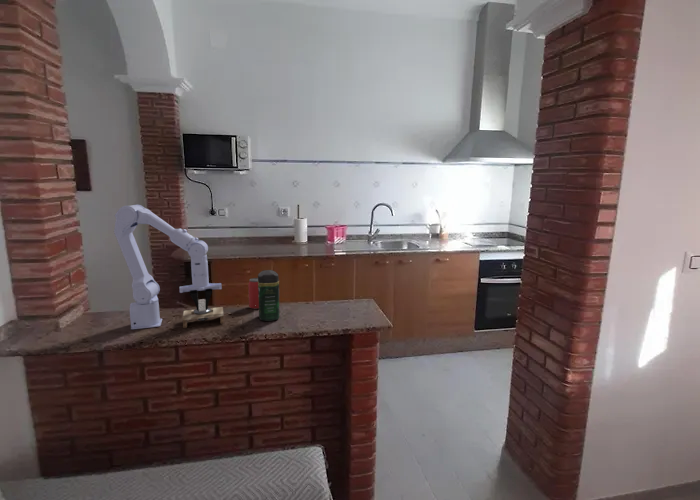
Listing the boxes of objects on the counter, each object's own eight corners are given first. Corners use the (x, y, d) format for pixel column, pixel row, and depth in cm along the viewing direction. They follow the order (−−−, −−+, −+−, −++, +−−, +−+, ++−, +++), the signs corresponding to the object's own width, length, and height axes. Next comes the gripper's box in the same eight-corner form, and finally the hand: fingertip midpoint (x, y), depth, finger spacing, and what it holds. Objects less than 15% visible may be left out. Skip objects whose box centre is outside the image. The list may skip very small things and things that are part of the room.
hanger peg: (194, 322, 143) (192, 303, 142) (194, 317, 148) (193, 299, 147) (211, 320, 145) (210, 302, 144) (211, 315, 150) (210, 297, 149)
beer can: (246, 306, 166) (245, 279, 164) (261, 303, 170) (260, 276, 168) (252, 310, 161) (251, 282, 158) (267, 307, 164) (266, 279, 162)
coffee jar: (280, 321, 149) (279, 273, 145) (259, 322, 147) (257, 274, 143) (278, 312, 158) (277, 268, 155) (258, 314, 156) (256, 269, 153)
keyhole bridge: (183, 328, 141) (182, 317, 140) (184, 320, 148) (183, 310, 148) (223, 323, 146) (223, 313, 145) (223, 316, 153) (222, 306, 152)
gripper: (177, 277, 137) (180, 314, 140) (221, 274, 142) (223, 310, 145) (179, 273, 144) (181, 308, 146) (220, 270, 149) (222, 304, 151)
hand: (202, 309), depth 146 cm, fingers closed on hanger peg, 2 cm apart
